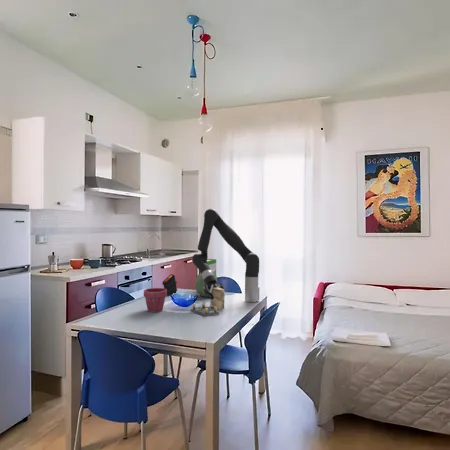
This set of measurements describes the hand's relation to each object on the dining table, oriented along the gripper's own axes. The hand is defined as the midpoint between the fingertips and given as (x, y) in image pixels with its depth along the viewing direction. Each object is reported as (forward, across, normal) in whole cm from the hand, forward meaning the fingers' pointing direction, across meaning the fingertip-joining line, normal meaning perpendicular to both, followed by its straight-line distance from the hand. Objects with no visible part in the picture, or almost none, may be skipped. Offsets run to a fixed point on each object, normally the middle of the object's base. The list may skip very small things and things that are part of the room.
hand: (218, 298), depth 233 cm
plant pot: (-6, -37, +15) cm, 40 cm away
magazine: (-32, -8, +41) cm, 52 cm away
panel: (+3, 0, +5) cm, 6 cm away
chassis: (+9, -14, 0) cm, 17 cm away
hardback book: (-34, +26, +42) cm, 60 cm away
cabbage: (-19, +12, +27) cm, 35 cm away
